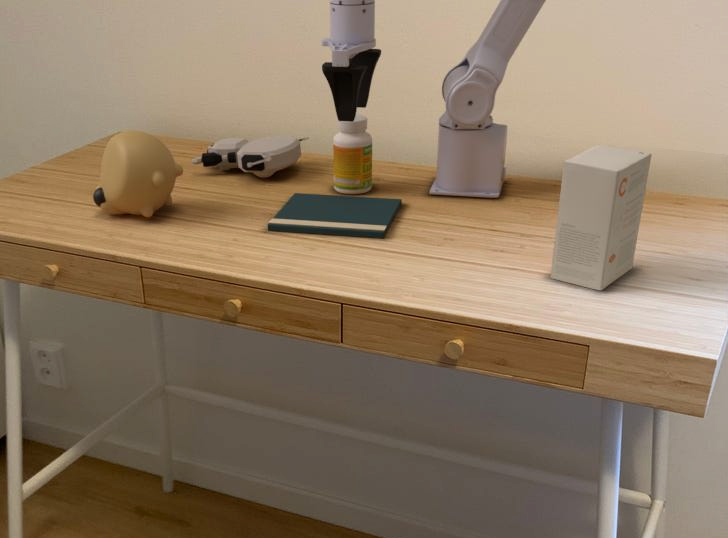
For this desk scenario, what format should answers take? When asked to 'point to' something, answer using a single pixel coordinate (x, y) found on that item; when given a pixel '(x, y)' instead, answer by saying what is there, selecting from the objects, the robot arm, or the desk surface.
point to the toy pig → (136, 175)
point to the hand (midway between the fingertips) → (352, 113)
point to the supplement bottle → (352, 157)
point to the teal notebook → (336, 215)
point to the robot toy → (253, 154)
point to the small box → (599, 215)
